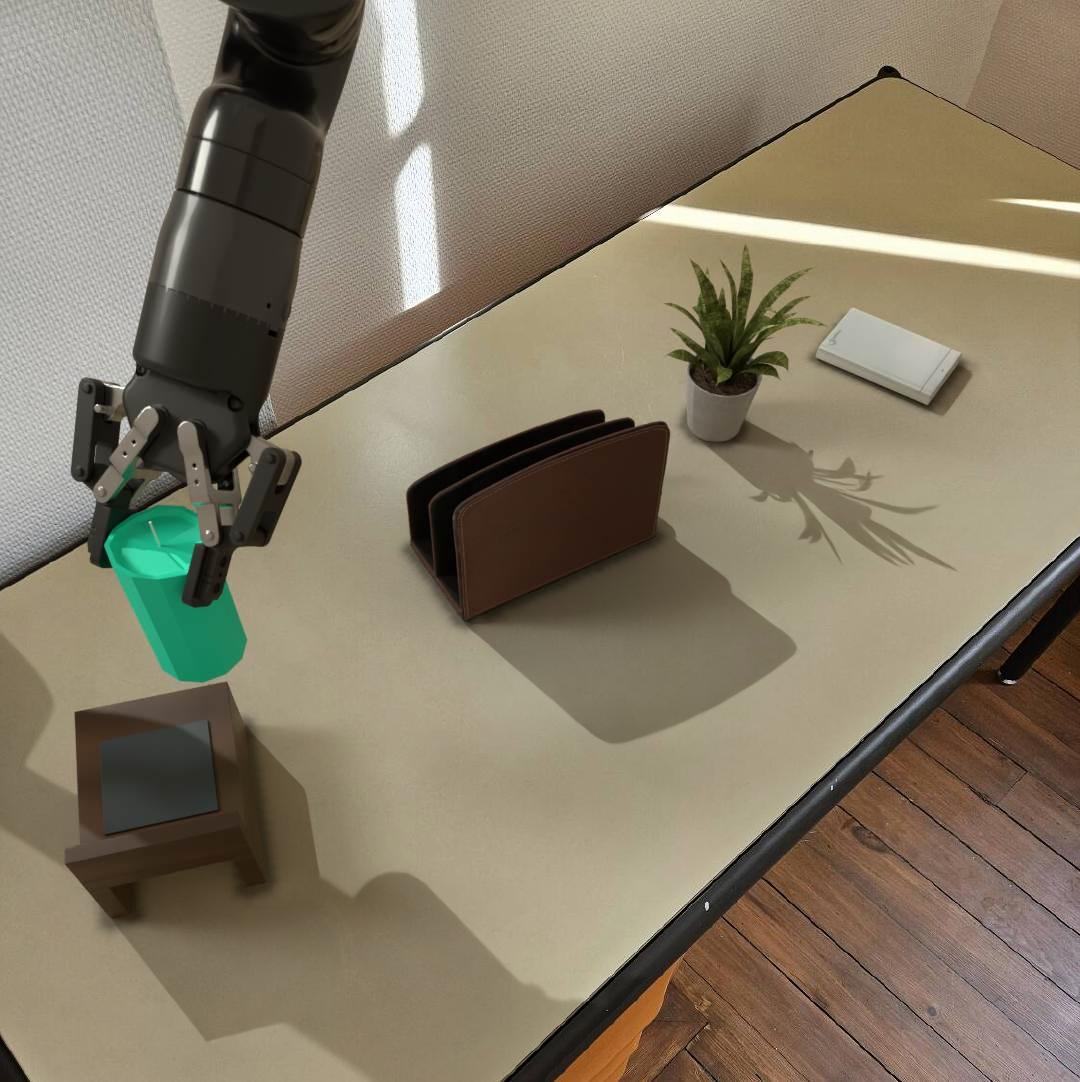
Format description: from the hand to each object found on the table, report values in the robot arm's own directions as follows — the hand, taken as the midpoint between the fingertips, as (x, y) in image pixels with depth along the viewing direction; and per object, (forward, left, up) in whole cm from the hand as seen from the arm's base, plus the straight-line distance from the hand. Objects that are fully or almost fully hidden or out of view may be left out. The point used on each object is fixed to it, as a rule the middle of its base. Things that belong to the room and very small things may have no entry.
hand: (150, 584), depth 63 cm
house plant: (+23, +53, -22) cm, 62 cm away
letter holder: (+12, +31, -22) cm, 40 cm away
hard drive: (+35, +69, -22) cm, 80 cm away
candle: (0, +2, -8) cm, 9 cm away
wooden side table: (-1, -5, -22) cm, 23 cm away
